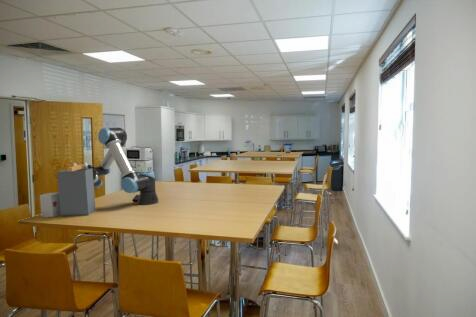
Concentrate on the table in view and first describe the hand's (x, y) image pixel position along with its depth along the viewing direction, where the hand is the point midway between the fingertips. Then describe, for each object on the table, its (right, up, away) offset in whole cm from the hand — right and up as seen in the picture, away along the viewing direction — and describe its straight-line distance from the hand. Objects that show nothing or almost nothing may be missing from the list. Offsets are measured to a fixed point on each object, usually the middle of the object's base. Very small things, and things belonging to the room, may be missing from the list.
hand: (79, 163), depth 230 cm
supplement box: (-15, -35, -8) cm, 39 cm away
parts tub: (+2, -34, -5) cm, 34 cm away
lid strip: (0, -4, -4) cm, 5 cm away
